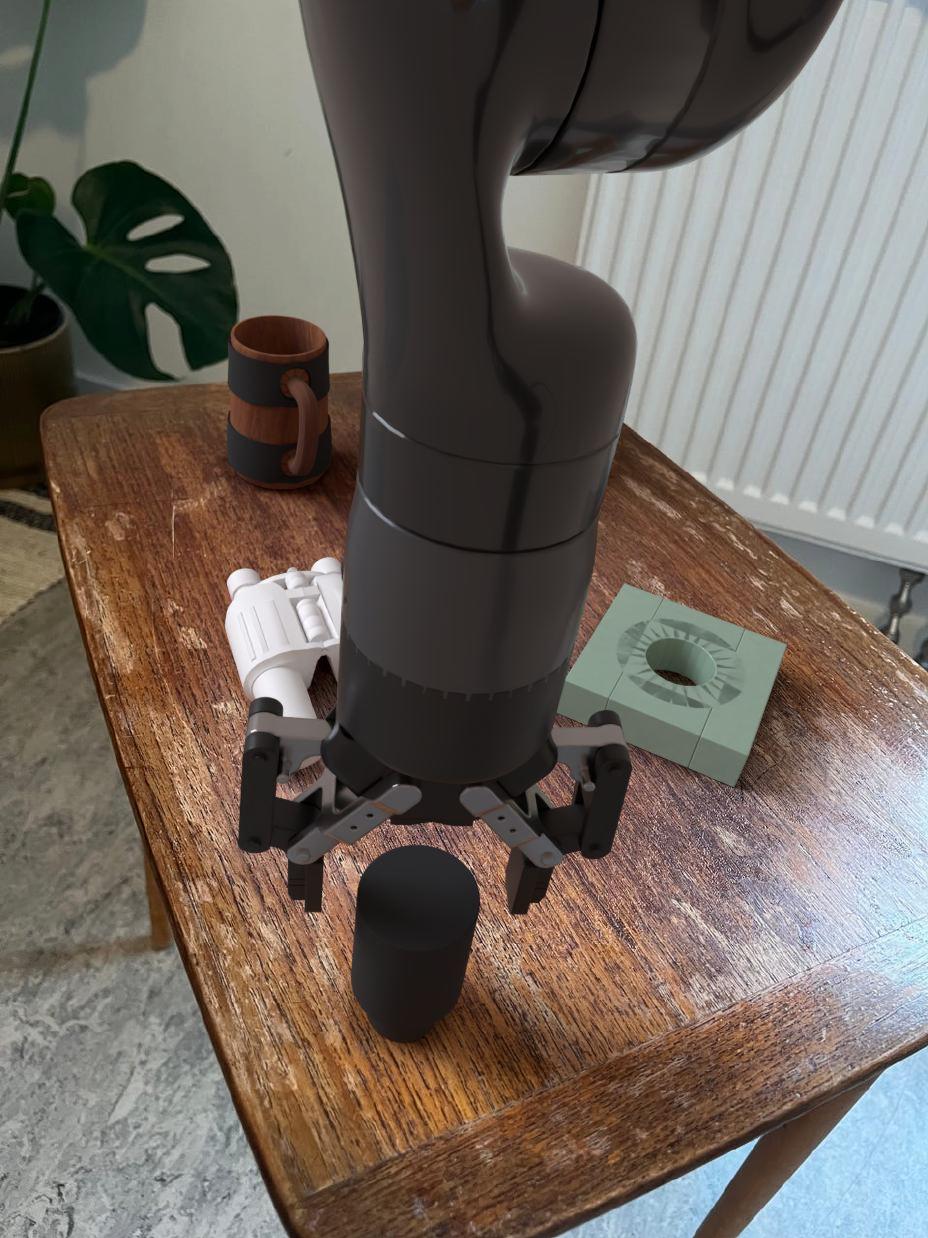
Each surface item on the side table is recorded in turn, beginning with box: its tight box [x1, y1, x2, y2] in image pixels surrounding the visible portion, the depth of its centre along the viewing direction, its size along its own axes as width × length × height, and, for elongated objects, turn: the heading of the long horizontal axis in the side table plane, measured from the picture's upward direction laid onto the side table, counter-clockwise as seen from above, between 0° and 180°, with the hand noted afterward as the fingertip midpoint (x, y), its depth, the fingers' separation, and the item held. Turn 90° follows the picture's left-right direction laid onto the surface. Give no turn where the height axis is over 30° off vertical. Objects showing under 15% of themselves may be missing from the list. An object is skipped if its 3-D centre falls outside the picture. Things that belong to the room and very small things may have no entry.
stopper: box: [350, 844, 481, 1043], centre depth 43 cm, size 5×5×9 cm
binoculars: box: [224, 556, 343, 771], centre depth 61 cm, size 10×16×5 cm, turn 21°
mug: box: [226, 314, 333, 490], centre depth 77 cm, size 9×12×12 cm
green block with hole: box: [557, 583, 788, 788], centre depth 65 cm, size 12×12×3 cm
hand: (416, 895), depth 41 cm, fingers open, 8 cm apart
